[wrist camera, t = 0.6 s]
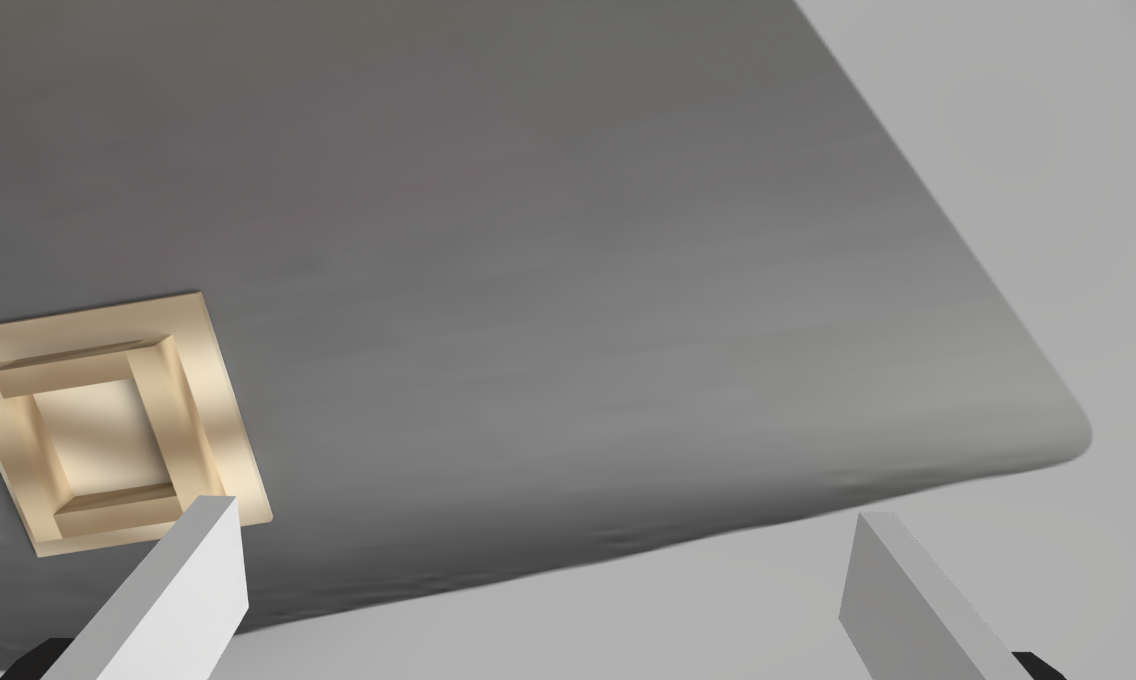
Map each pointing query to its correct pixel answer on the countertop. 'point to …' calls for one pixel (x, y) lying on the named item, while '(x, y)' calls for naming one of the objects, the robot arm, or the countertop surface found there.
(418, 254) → the countertop surface
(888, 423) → the countertop surface
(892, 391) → the countertop surface
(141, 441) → the beige square tray
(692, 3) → the countertop surface
